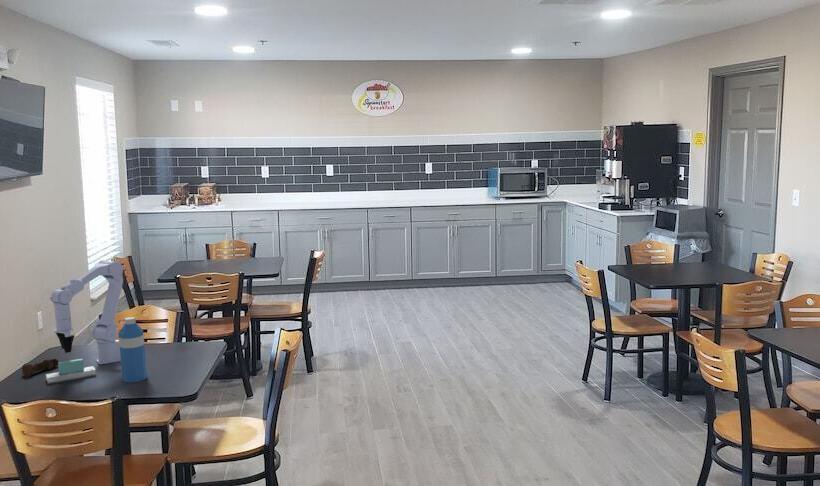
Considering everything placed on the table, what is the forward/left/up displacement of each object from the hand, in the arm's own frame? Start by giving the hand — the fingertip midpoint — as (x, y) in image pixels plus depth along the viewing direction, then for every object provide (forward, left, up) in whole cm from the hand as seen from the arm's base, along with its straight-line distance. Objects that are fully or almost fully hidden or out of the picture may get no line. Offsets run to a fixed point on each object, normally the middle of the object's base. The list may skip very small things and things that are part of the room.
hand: (66, 350), depth 318 cm
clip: (0, +8, -9) cm, 12 cm away
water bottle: (-21, +26, -10) cm, 35 cm away
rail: (0, +8, -10) cm, 13 cm away
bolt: (+9, -11, -10) cm, 17 cm away
